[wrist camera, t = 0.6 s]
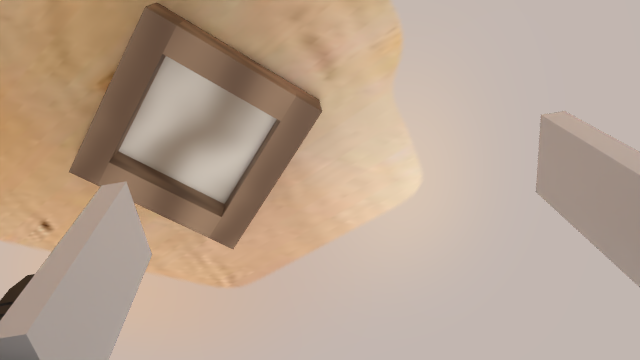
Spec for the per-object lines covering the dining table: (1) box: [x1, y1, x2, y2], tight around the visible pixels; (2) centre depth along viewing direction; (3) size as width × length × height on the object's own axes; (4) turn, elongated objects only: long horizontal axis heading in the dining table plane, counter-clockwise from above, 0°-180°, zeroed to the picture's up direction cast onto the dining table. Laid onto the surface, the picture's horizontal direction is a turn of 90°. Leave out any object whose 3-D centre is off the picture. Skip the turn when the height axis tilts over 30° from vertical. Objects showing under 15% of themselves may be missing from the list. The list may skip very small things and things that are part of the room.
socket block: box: [69, 3, 322, 249], centre depth 38 cm, size 14×14×3 cm
